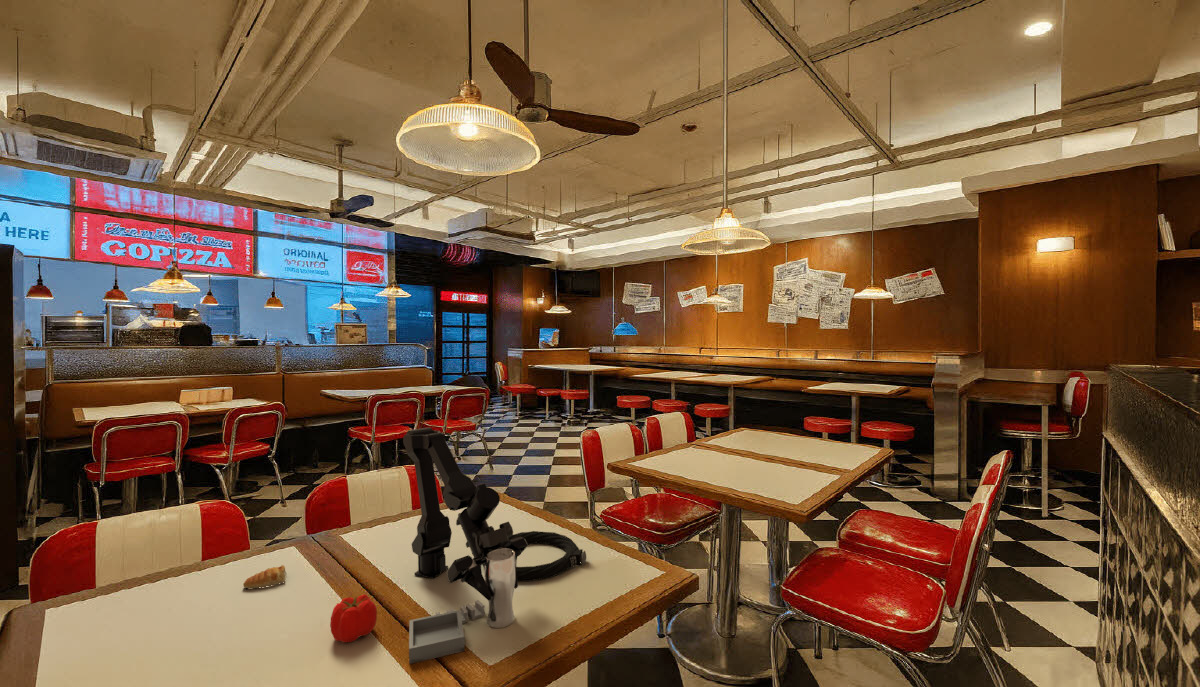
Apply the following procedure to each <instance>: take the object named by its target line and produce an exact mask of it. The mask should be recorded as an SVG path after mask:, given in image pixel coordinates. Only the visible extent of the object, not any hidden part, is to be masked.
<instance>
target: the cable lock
mask: <svg viewBox="0 0 1200 687" xmlns="http://www.w3.org/2000/svg"><path fill="white" fill-rule="evenodd" d="M518 537H523V538H524V539H525V540H526V542H527V544H548V545H552V546H556V547H559V548H561V549H562V550H563V551H565V554H563V556H562V557H560V558H557V559H556V560H554V561H552V562H548V563H545V564H539V565H534V566H531V565H529V566H516V568H517V579H518V582H530V581H531V582H532V581H538V580H545V579H548V578H552V577H555V576H558V575H560V574H562V573H564V572H566V571H567V570H569V569H570V570H571V569H574V568H575V567H576V565H577V567H580V566H581V565H582V564H583V565H582V566H584V565H586V561H587V553H586V551H585V550H584V551H583V548H581V549H580V548H579V546H578V545H577V543H575V542H574V540H572V539H571V538H570V537H568V536H566V535H564V534H560V533H557V532H553V531H552V532H551V531H550V532H549V531H538V530H537V531H535V530H532V531H524V532H523V531H521V532H517V533H515V534H514V533H513V535H510V536H508V539H509V540H512V539H515V538H518ZM508 542H509V541H506V542H502V543H503V544H502V546H501V547H499V548H504V547H505V545H506V544H507V543H508ZM580 562H581V563H582V564H580ZM482 566H483V568H484V569H485V564H483V565H482Z"/></svg>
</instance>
